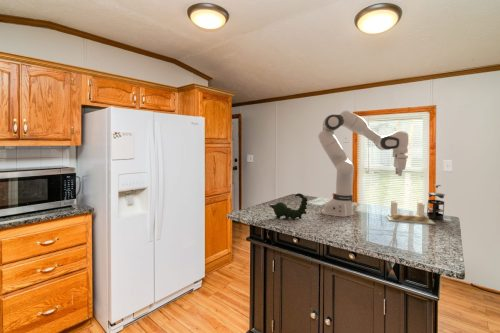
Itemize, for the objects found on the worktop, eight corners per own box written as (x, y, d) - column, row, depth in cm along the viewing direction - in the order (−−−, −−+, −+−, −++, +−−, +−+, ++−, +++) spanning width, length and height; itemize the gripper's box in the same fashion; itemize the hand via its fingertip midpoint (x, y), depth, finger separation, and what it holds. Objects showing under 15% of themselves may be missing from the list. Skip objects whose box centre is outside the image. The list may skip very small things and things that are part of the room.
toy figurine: (304, 219, 183) (269, 215, 187) (307, 193, 181) (271, 188, 185) (305, 224, 174) (267, 219, 178) (308, 195, 172) (270, 191, 176)
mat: (389, 220, 174) (389, 219, 174) (386, 217, 181) (386, 216, 181) (435, 224, 166) (435, 223, 166) (431, 220, 173) (431, 219, 173)
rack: (389, 216, 183) (390, 202, 182) (388, 214, 188) (388, 200, 187) (426, 219, 176) (427, 204, 175) (424, 217, 181) (424, 202, 180)
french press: (442, 222, 170) (444, 186, 168) (424, 219, 177) (426, 185, 174) (445, 218, 179) (447, 184, 176) (428, 215, 185) (430, 182, 183)
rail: (393, 219, 175) (393, 214, 175) (392, 217, 178) (392, 213, 178) (428, 221, 169) (428, 217, 169) (427, 220, 172) (427, 216, 171)
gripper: (392, 153, 192) (390, 172, 194) (397, 155, 173) (396, 176, 175) (401, 154, 190) (400, 173, 192) (408, 155, 171) (406, 177, 173)
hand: (398, 174), depth 183 cm, fingers open, 8 cm apart
